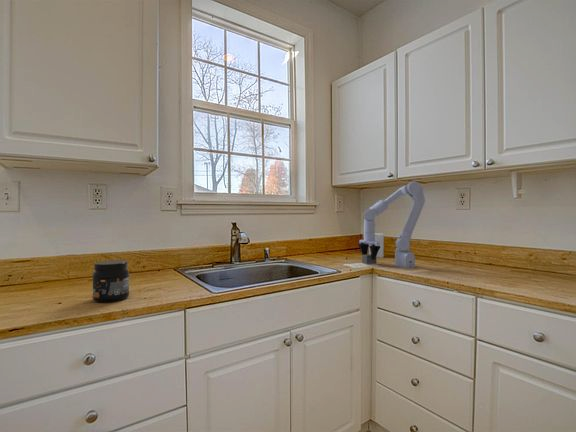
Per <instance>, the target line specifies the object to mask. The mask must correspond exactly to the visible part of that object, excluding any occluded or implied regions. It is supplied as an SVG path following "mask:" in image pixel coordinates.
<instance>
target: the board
mask: <svg viewBox="0 0 576 432" xmlns="http://www.w3.org/2000/svg"><path fill="white" fill-rule="evenodd" d="M341 265H342V266H346V267H349V268H353V269H357V268H360V269H361V268H369V267H370V268H373V267H381V265H379V264H376V265H363V264H362V262H359V263H358V262H356V263H343V264H341Z"/></svg>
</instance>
